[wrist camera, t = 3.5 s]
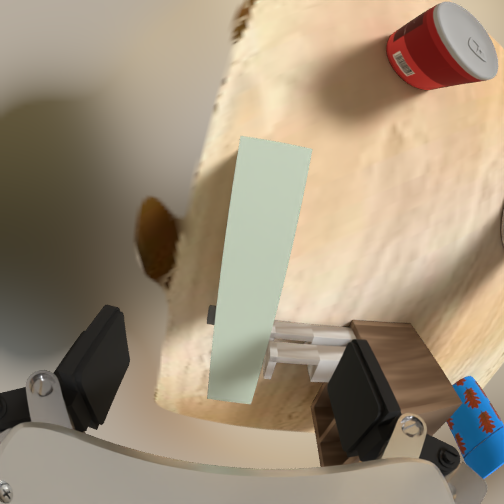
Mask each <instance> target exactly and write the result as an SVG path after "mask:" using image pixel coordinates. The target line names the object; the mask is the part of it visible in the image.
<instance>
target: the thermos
mask: <svg viewBox="0 0 504 504" xmlns="http://www.w3.org/2000/svg"><path fill="white" fill-rule="evenodd" d="M452 386H453V388H454V390H455V391H456V393H457V395H458V396H459V398H460V400H461V401H462V404H461V405H460V407H459V408H458V409H457V410H456V411H455V412H454V413H453V415H452V416H451V417H450V418H449V419H448V420H447V421H446V422H447V424H448V426H449V427H450V430H451V432H452V434H453V436H454V438H455V440H456V443H457V444H458V447H459V449H460V451H461V454H462V456H463V458H464V461H465V463H466V464H467V465H468V466H469V467H470V468H471V469H472V470H474V471H475V472H476V473H477V474H478V475H479V476H480V477H482V478H483V479H484V478H486V477H487V476H488V475H490V474H491V473H493V472H494V471H495V470H497V469H498V468H499V467H500V466H502V465H503V464H504V425H503V423H502V421H501V419H500V418H499V416H498V414H497V413H496V411H495V409H494V408H493V406H492V404H491V403H490V401H489V400H488V398H487V396H486V395H485V393H484V392H483V390H482V389H481V387H480V386H479V385H478V383H477V382H476V381H475V379H474V378H473V377H471V376H468V377H465V378H463V379H461V380H459V381H458V382H456V383H455V384H454V385H452Z"/></svg>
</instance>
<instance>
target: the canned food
mask: <svg viewBox="0 0 504 504" xmlns="http://www.w3.org/2000/svg"><path fill="white" fill-rule="evenodd" d="M386 50H387V56H388V59H389V62H390V64H391V66H392V67H393V69H394V70H395V72H396V73H397V74H398V75H399V76H400V77H401V78H402V79H403V80H404V81H405V82H407V83H408V84H410V85H411V86H413V87H416V88H419V89H423V90H433V89H438V88H443V87H448V86H454V85H460V84H466V83H473V82H480V81H486V80H489V79H492V78H494V77H495V76H496V74H497V71H498V59H497V54H496V51H495V48H494V45H493V43H492V41H491V39H490V37H489V35H488V34H487V32H486V30H485V29H484V28H483V26H482V25H481V24H480V23H479V21H478V20H477V19H476V18H475V17H474V16H473V15H472V14H471V13H469V12H468V11H467V10H466V9H464V8H463V7H461V6H459V5H457V4H455V3H452V2H443V3H440V4H438V5H436V6H434V7H432V8H430V9H429V10H427V11H426V12H424V13H422V14H421V15H419V16H418V17H416V18H415V19H413V20H412V21H410V22H409V23H407V24H406V25H404V26H403V27H401V28H400V29H398V30H397V31H396V32H394V33H393V34H392V35H391V36H390V38H389V40H388V43H387V48H386Z"/></svg>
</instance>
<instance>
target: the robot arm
mask: <svg viewBox="0 0 504 504" xmlns="http://www.w3.org/2000/svg"><path fill="white" fill-rule="evenodd" d="M501 234H502V241H503V245H504V211H503V217H502V226H501ZM129 362H130V357H129V351H128V345H127V338H126V331H125V323H124V315H123V313H122V312H120V309H119V308H118V307H114V306H110V305H105V306H104V307H103V308H102V310H101V311H100V312H99V314H98V315H97V316H96V318H95V319H94V320H93V322H92V323H91V324H90V325H89V327H88V328H87V330H86V331H83V332H82V333H81V334H80V336H79V337H78V339H77V340H76V341H75V343H74V344H73V346H72V347H71V348H70V350H69V351H68V353H67V354H66V355H65V357H64V358H63V360H62V361H61V363H60V364H59V366H58V367H57V369H56V370H55V372H54V373H52V372H50V371H46V370H40V371H37V372H34V373H33V374H31V375H30V376H29V378H28V379H27V382H26V387H24V388H20V389H16V390H11V391H7V392H3V393H0V504H481V502H482V500H483V498H484V497H485V495H486V492H487V484H486V482H485V480H484V479H483V478H482V477H480V476H479V475H478V474H477V473H476V472H475V471H474V470H472V469H471V468H470V467H469V466H468V465H467V464H466V463H464V462H462V463H460V455H459V453H458V451H457V450H456V449H455V448H454V447H453V446H451V445H449V444H447V443H445V442H443V441H441V440H438V439H437V438H435V437H432V436H431V435H429V434H427V426H426V423H425V422H424V420H423V419H422V418H421V417H420V416H418V415H416V414H413V413H406V414H403V415H402V414H401V409H400V406H399V404H398V402H397V400H396V398H395V396H394V394H393V391H392V389H391V387H390V385H389V383H388V381H387V379H386V377H385V375H384V373H383V371H382V369H381V367H380V365H379V363H378V361H377V359H376V357H375V355H374V353H373V351H372V349H371V347H370V345H369V343H368V341H367V340H365V339H353V340H352V341H351V342H349V343H348V344H347V346H346V348H345V350H344V353H343V355H342V357H341V359H340V361H339V363H338V365H337V367H336V369H335V371H334V373H333V375H332V377H331V379H330V381H329V383H328V386H327V391H328V395H329V399H330V402H331V406H332V410H333V414H334V418H335V421H336V425H337V429H338V433H339V437H340V441H341V445H342V449H343V451H344V452H346V453H347V457H355V456H359V459H360V461H359V463H353V464H345V465H336V466H327V467H316V468H299V469H253V468H235V467H225V466H216V465H207V464H200V463H194V462H187V461H182V460H176V459H171V458H167V457H162V456H158V455H153V454H149V453H145V452H141V451H137V450H134V449H131V448H128V447H124V446H120V445H117V444H114V443H111V442H108V441H105V440H102V439H99V438H96V437H94V436H91V435H88V434H86V433H85V431H86V430H87V428H88V427H91V428H93V429H96V430H97V429H98V426H99V424H100V425H102V424H103V423H104V421H105V419H106V416H107V414H108V411H109V409H110V406H111V404H112V402H113V400H114V397H115V395H116V393H117V390H118V388H119V386H120V384H121V381H122V379H123V377H124V375H125V372H126V370H127V368H128V366H129Z"/></svg>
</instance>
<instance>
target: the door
mask: <svg viewBox="0 0 504 504" xmlns="http://www.w3.org/2000/svg"><path fill="white" fill-rule="evenodd" d="M311 154H312V149H310V148H305V147H301V146H296V145H291V144H286V143H281V142H275V141H270V140H264V139H258V138H251V137H245V136H241V137H240V143H239V149H238V155H237V161H236V168H235V174H234V181H233V187H232V194H231V201H230V207H229V214H228V221H227V228H226V236H225V243H224V251H223V258H222V266H221V274H220V282H219V290H218V298H217V306H213V305H210V306H209V310H208V317H207V324H211V325H214V334H213V343H212V353H211V363H210V373H209V384H208V395H207V399H214V400H220V401H228V402H235V403H244V404H251V402H252V399H253V395H254V392H255V389H256V385H257V382H258V378H259V375H260V371H261V368H262V364H263V360H264V357H265V353H266V349H267V346H268V342H269V338H270V335H271V331H272V327H273V323H274V319H275V315H276V311H277V308H278V304H279V300H280V296H281V292H282V287H283V283H284V279H285V275H286V271H287V267H288V262H289V258H290V254H291V249H292V245H293V241H294V236H295V232H296V227H297V223H298V218H299V213H300V209H301V204H302V199H303V194H304V189H305V185H306V180H307V175H308V169H309V164H310V159H311Z"/></svg>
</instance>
